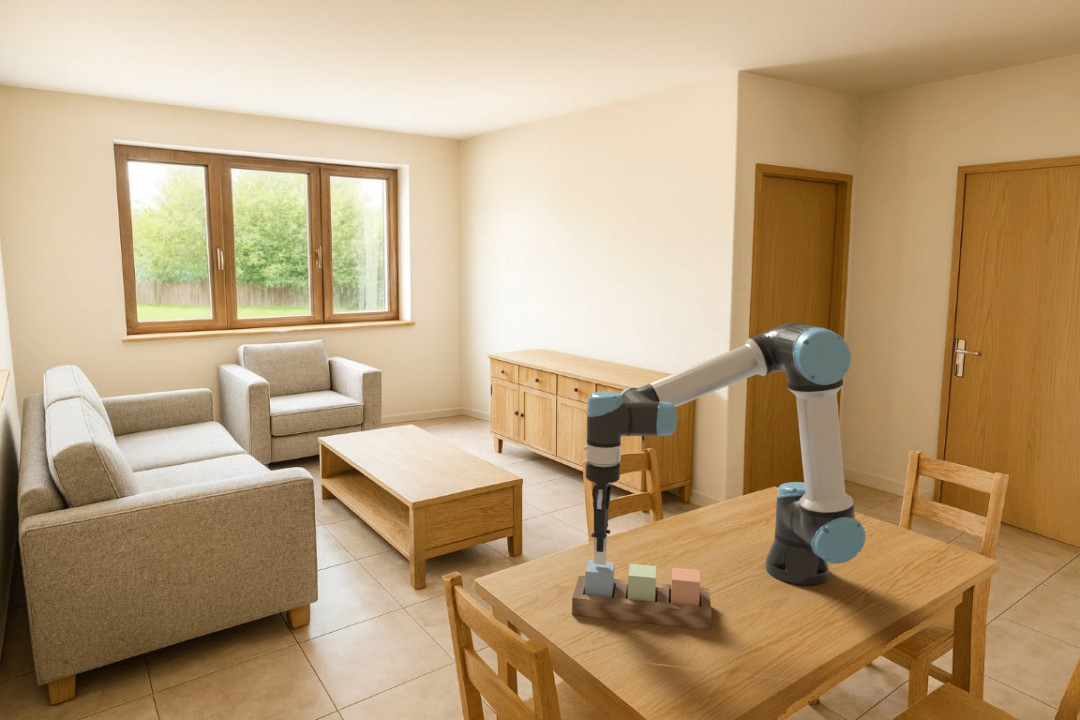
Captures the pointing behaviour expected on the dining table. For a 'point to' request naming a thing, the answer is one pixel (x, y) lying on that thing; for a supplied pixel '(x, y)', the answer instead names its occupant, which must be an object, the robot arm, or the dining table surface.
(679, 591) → the salmon pink cube
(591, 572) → the pale blue-grey cube
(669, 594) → the wooden cube holder tray
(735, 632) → the dining table surface
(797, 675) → the dining table surface
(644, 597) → the pastel lime cube
